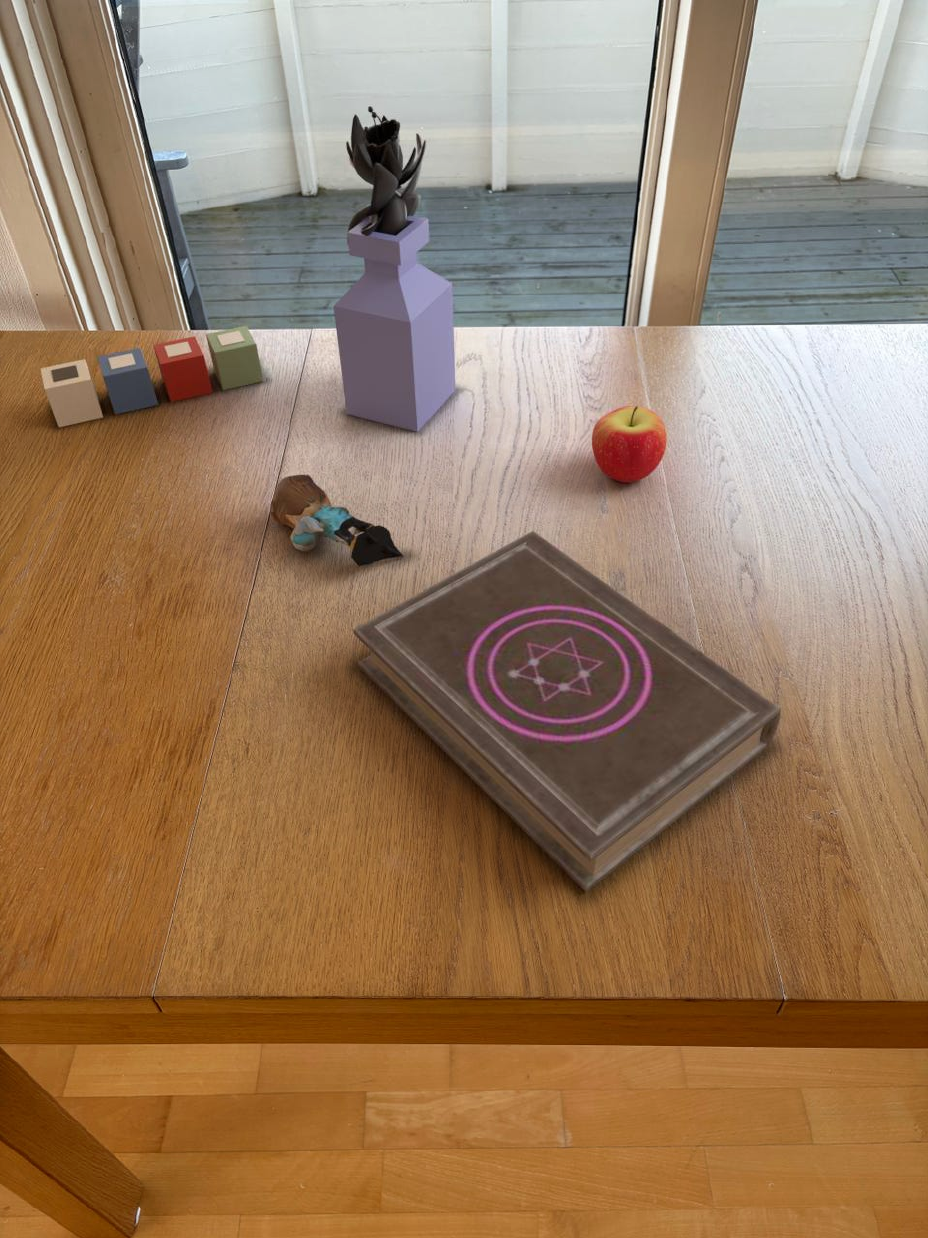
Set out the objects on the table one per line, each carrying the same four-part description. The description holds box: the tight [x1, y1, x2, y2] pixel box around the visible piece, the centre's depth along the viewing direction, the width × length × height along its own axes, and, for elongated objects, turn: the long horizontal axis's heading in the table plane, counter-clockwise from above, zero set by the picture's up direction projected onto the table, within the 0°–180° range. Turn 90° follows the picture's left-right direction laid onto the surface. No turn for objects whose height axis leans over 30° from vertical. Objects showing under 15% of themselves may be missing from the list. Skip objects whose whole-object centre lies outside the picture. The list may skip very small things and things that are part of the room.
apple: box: [591, 405, 668, 483], centre depth 107 cm, size 8×8×10 cm
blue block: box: [96, 347, 159, 415], centre depth 122 cm, size 6×6×6 cm
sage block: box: [205, 325, 264, 391], centre depth 126 cm, size 6×6×6 cm
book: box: [352, 530, 782, 893], centre depth 84 cm, size 30×22×5 cm
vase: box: [333, 106, 457, 433], centre depth 111 cm, size 14×12×35 cm
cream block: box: [40, 359, 104, 428], centre depth 120 cm, size 6×6×6 cm
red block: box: [152, 335, 213, 403], centre depth 124 cm, size 6×6×6 cm
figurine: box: [269, 474, 405, 567], centre depth 100 cm, size 8×16×6 cm, turn 47°
